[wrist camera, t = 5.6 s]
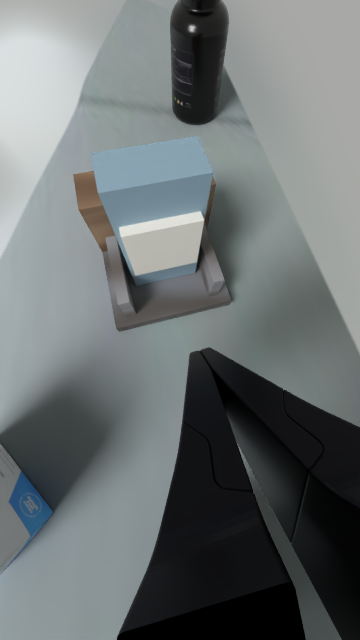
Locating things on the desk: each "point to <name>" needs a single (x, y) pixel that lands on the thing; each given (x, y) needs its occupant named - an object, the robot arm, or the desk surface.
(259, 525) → the robot arm
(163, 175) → the blue white block
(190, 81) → the supplement bottle
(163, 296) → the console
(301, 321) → the desk surface
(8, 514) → the ink box
